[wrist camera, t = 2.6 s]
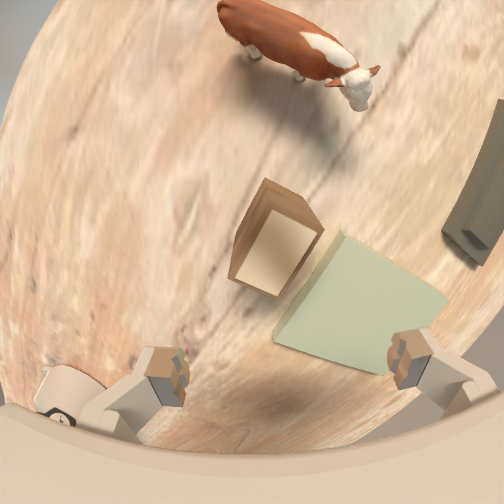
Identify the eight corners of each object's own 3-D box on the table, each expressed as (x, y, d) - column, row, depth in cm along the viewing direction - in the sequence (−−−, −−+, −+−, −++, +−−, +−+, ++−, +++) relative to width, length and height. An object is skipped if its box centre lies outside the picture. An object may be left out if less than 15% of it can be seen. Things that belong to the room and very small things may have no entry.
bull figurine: (336, 122, 23) (370, 119, 15) (215, 41, 19) (198, 6, 12) (362, 90, 21) (403, 77, 14) (243, 9, 18) (238, -33, 11)
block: (272, 249, 28) (279, 302, 19) (236, 232, 27) (227, 280, 19) (302, 197, 26) (325, 230, 17) (264, 177, 25) (269, 201, 16)
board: (379, 366, 35) (383, 375, 33) (273, 330, 32) (273, 341, 30) (442, 292, 30) (449, 300, 28) (340, 229, 27) (346, 236, 25)
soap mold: (528, 147, 21) (544, 152, 18) (474, 262, 29) (489, 274, 26) (495, 98, 19) (513, 99, 16) (436, 227, 27) (452, 239, 24)
